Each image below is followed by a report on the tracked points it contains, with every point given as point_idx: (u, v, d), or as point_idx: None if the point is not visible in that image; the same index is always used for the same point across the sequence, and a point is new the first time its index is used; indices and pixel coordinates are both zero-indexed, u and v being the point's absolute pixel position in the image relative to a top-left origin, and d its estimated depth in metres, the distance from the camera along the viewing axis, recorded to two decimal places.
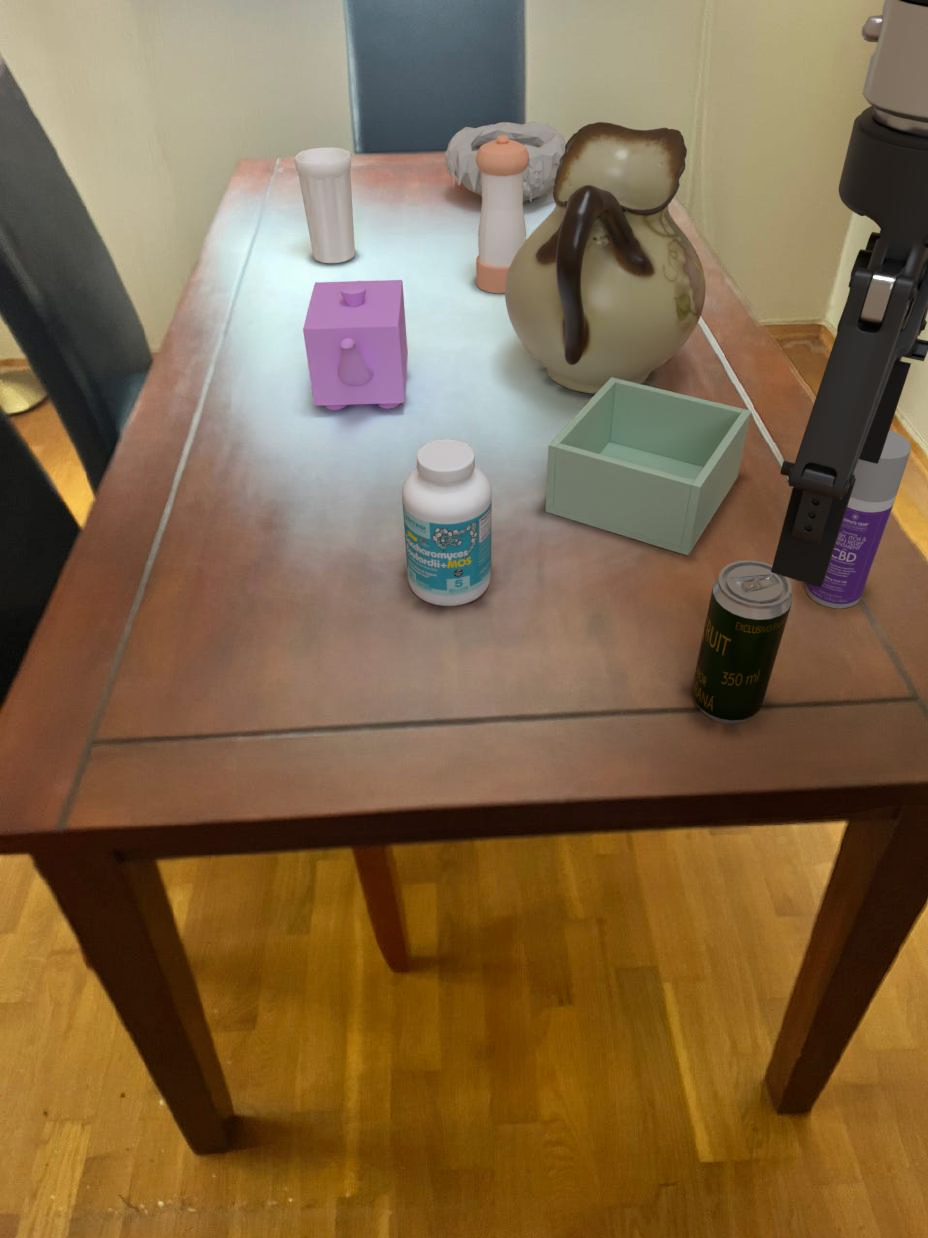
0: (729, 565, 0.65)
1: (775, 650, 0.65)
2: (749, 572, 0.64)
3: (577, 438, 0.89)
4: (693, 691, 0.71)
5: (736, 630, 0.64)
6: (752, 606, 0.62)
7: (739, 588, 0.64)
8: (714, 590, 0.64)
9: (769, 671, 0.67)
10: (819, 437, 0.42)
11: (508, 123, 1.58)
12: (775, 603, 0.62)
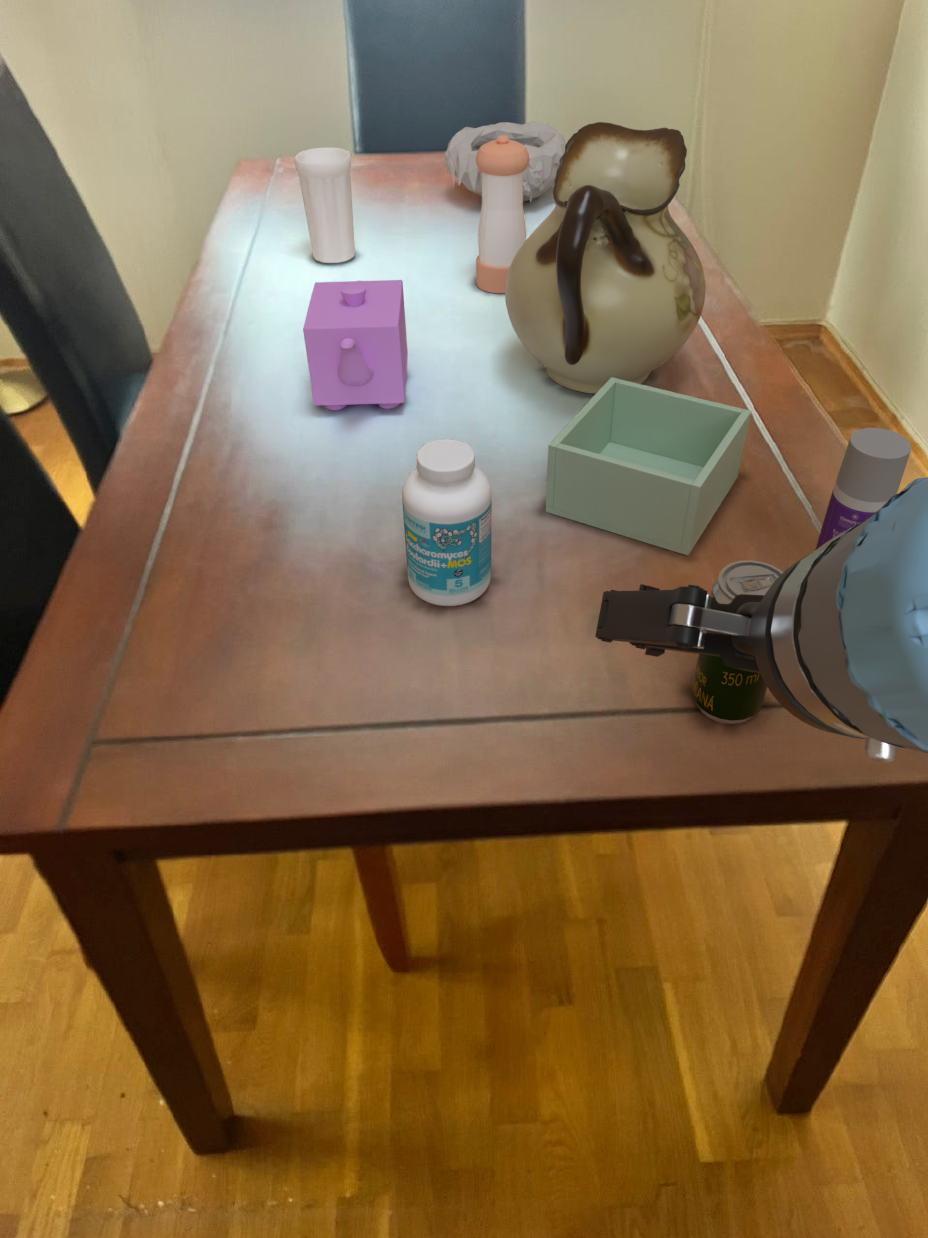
0: (729, 565, 0.65)
1: None
2: (749, 572, 0.64)
3: (577, 438, 0.89)
4: (693, 691, 0.71)
5: None
6: None
7: (739, 588, 0.64)
8: (714, 590, 0.64)
9: None
10: None
11: (508, 123, 1.58)
12: None
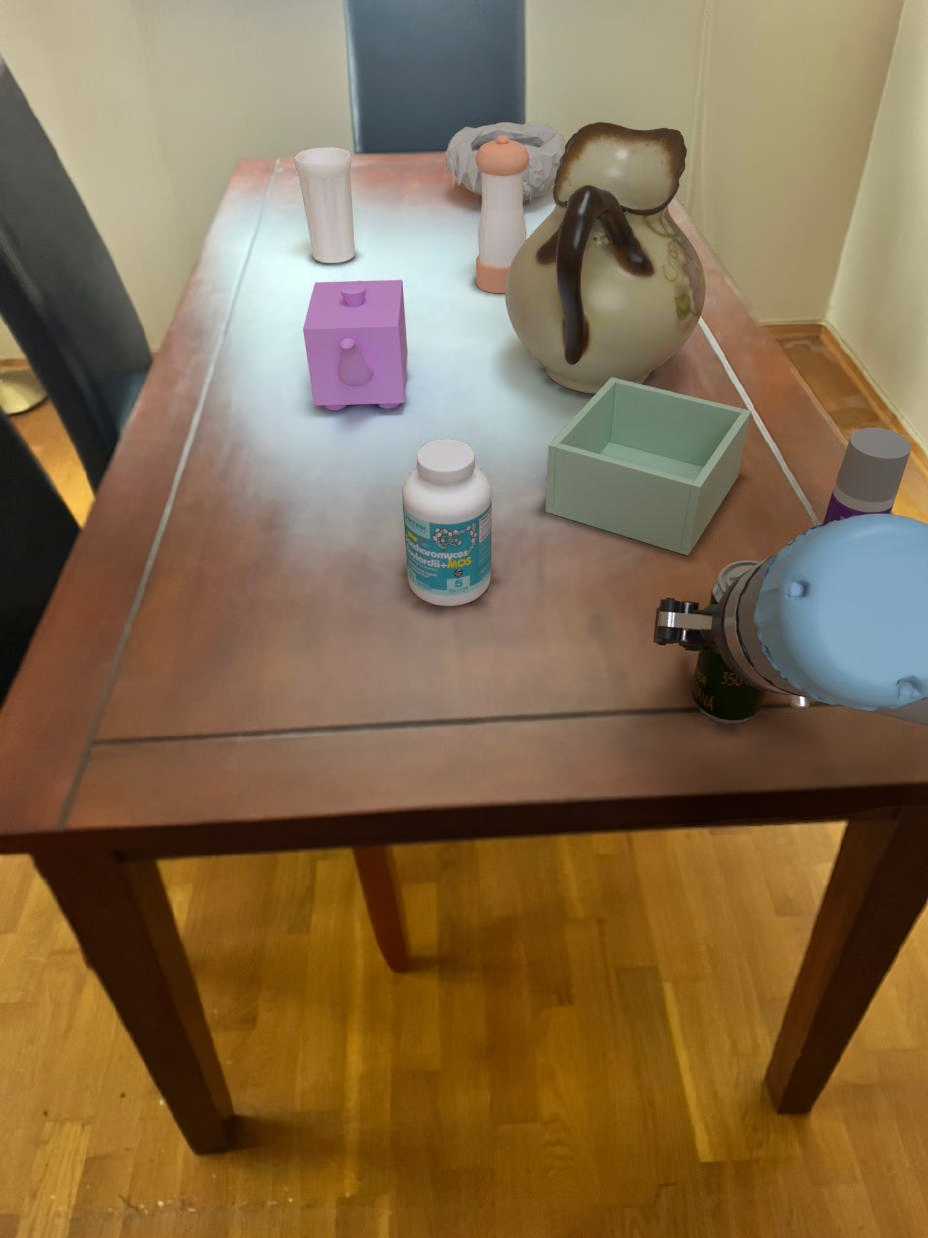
0: (729, 565, 0.65)
1: None
2: None
3: (577, 438, 0.89)
4: (693, 691, 0.71)
5: None
6: None
7: None
8: (714, 590, 0.64)
9: None
10: None
11: (508, 123, 1.58)
12: None
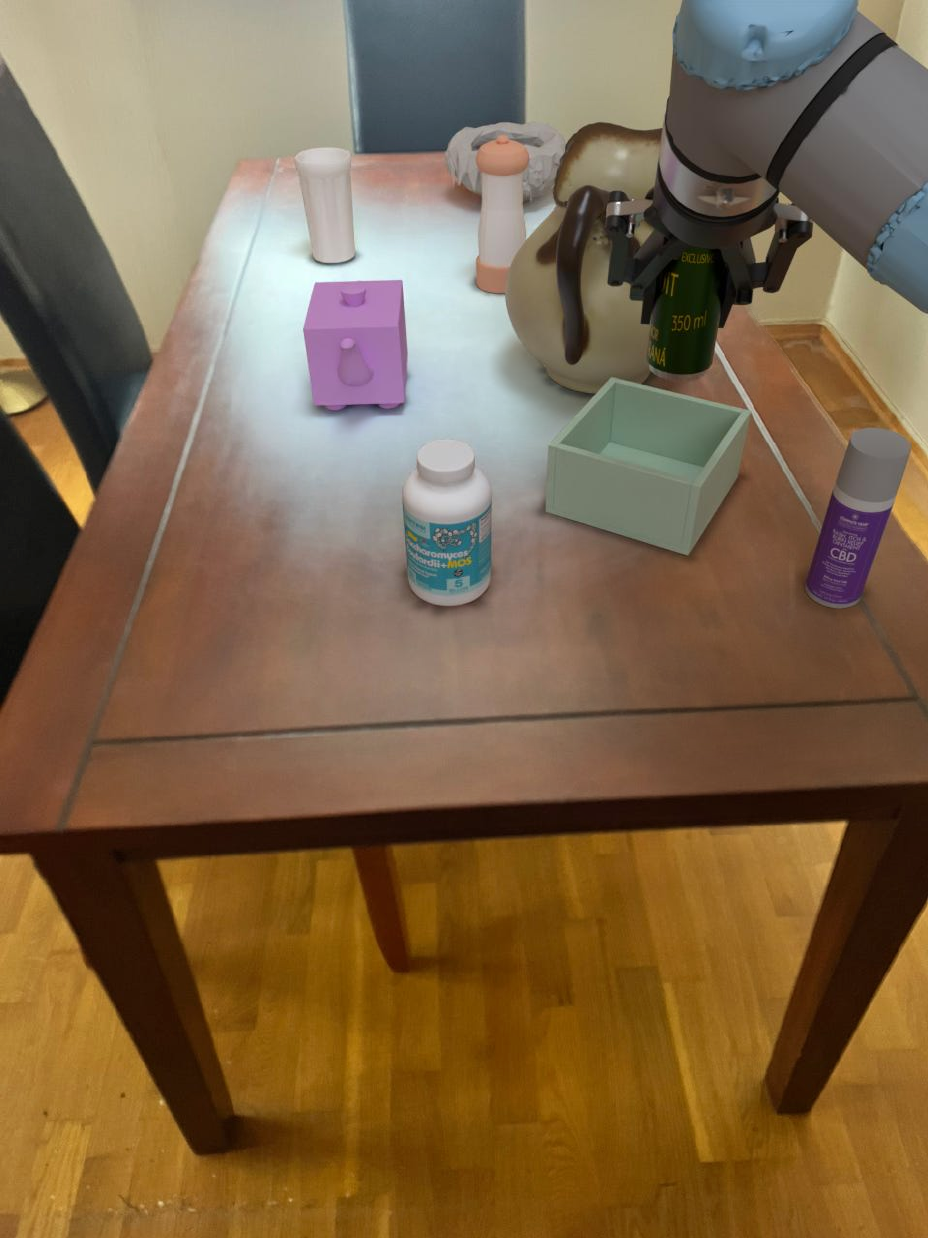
0: None
1: (720, 290, 0.71)
2: None
3: (577, 438, 0.89)
4: (647, 355, 0.76)
5: (682, 261, 0.69)
6: None
7: None
8: None
9: (715, 317, 0.72)
10: None
11: (508, 123, 1.58)
12: None
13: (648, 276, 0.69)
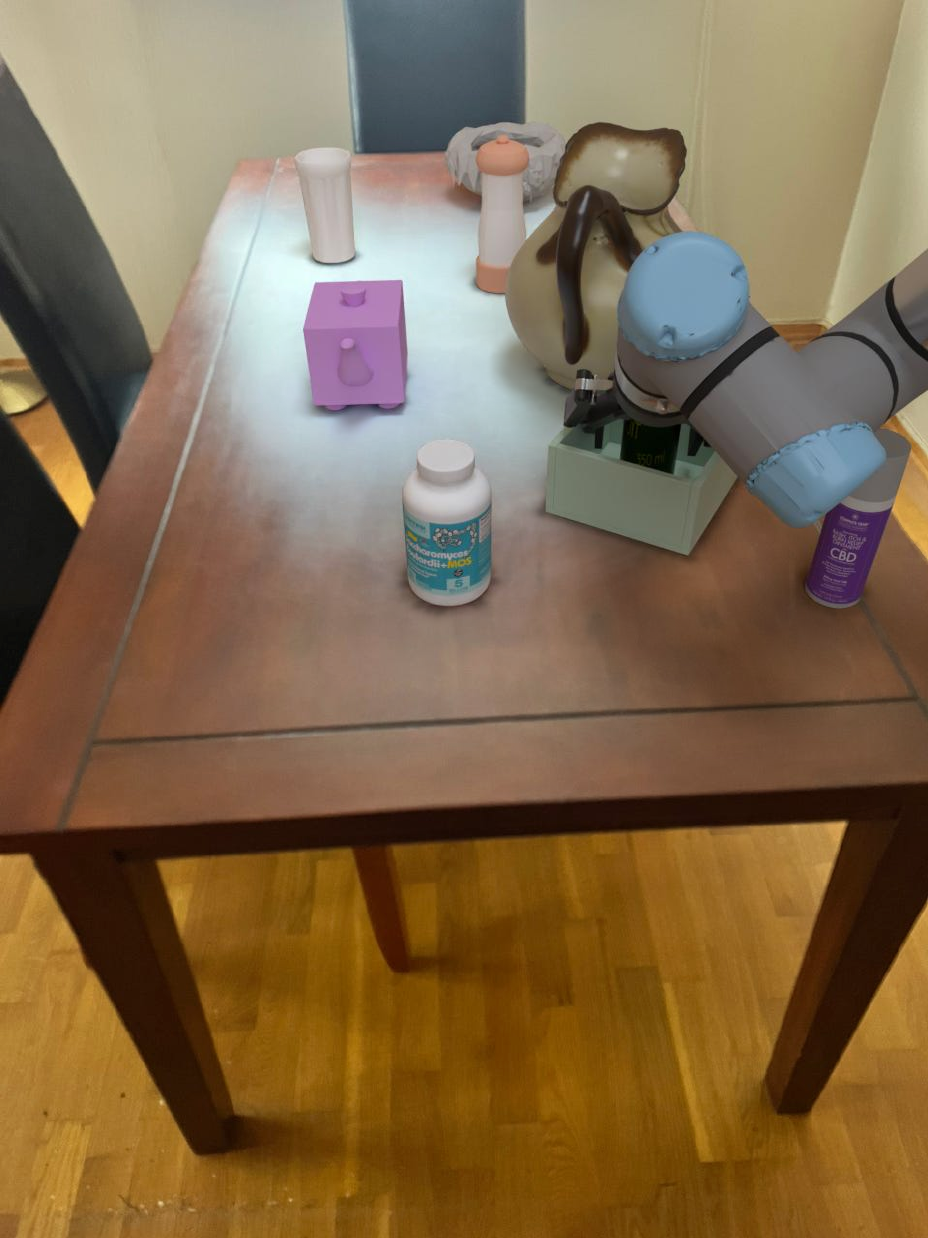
0: None
1: (676, 435, 0.86)
2: None
3: (577, 438, 0.89)
4: None
5: None
6: None
7: None
8: None
9: (673, 454, 0.87)
10: None
11: (508, 123, 1.58)
12: None
13: (599, 424, 0.83)
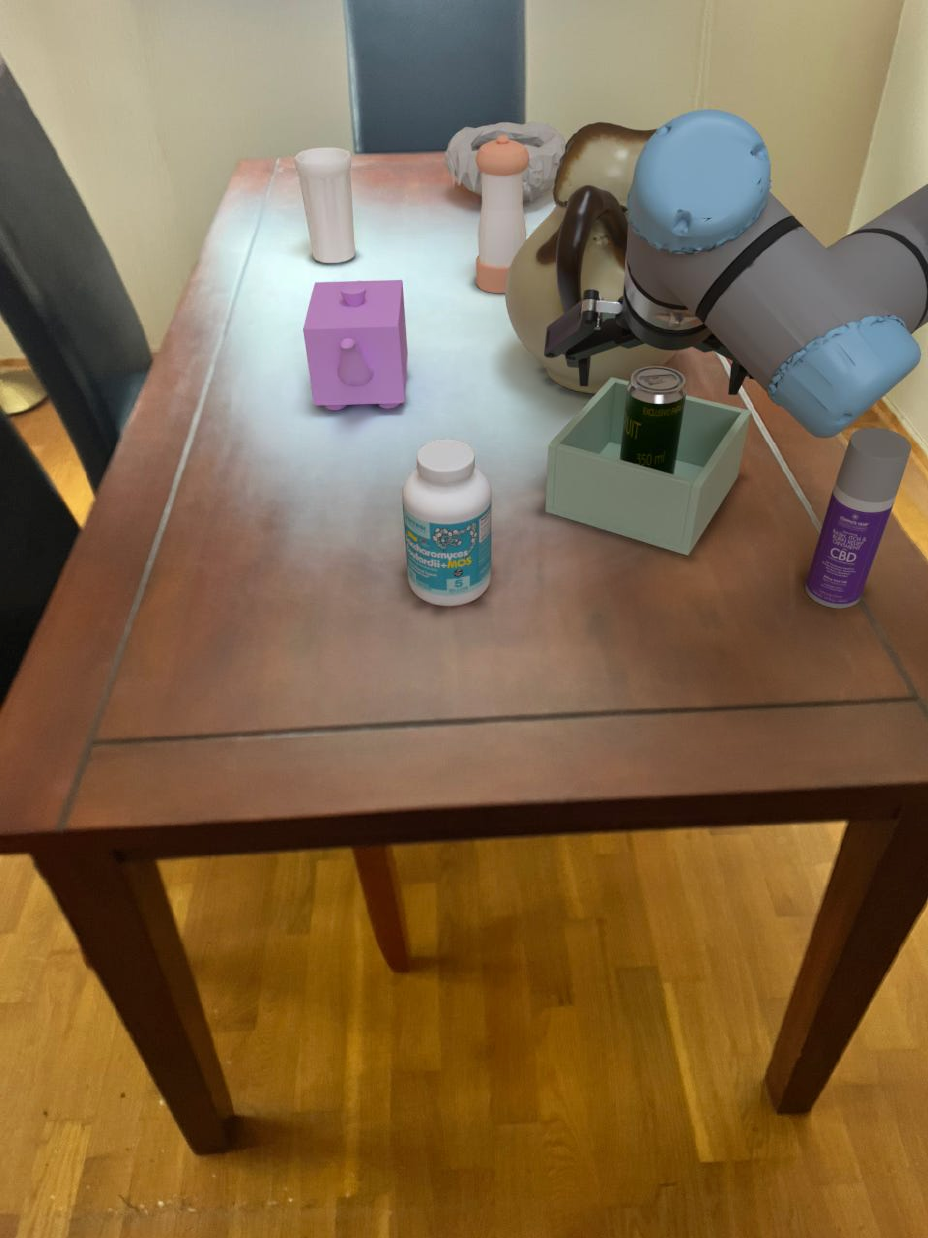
0: (640, 369, 0.85)
1: (676, 435, 0.86)
2: (654, 373, 0.85)
3: (577, 438, 0.89)
4: None
5: (644, 414, 0.84)
6: (654, 392, 0.82)
7: (646, 383, 0.84)
8: (628, 386, 0.85)
9: (673, 454, 0.87)
10: None
11: (508, 123, 1.58)
12: (671, 390, 0.82)
13: (588, 353, 0.78)
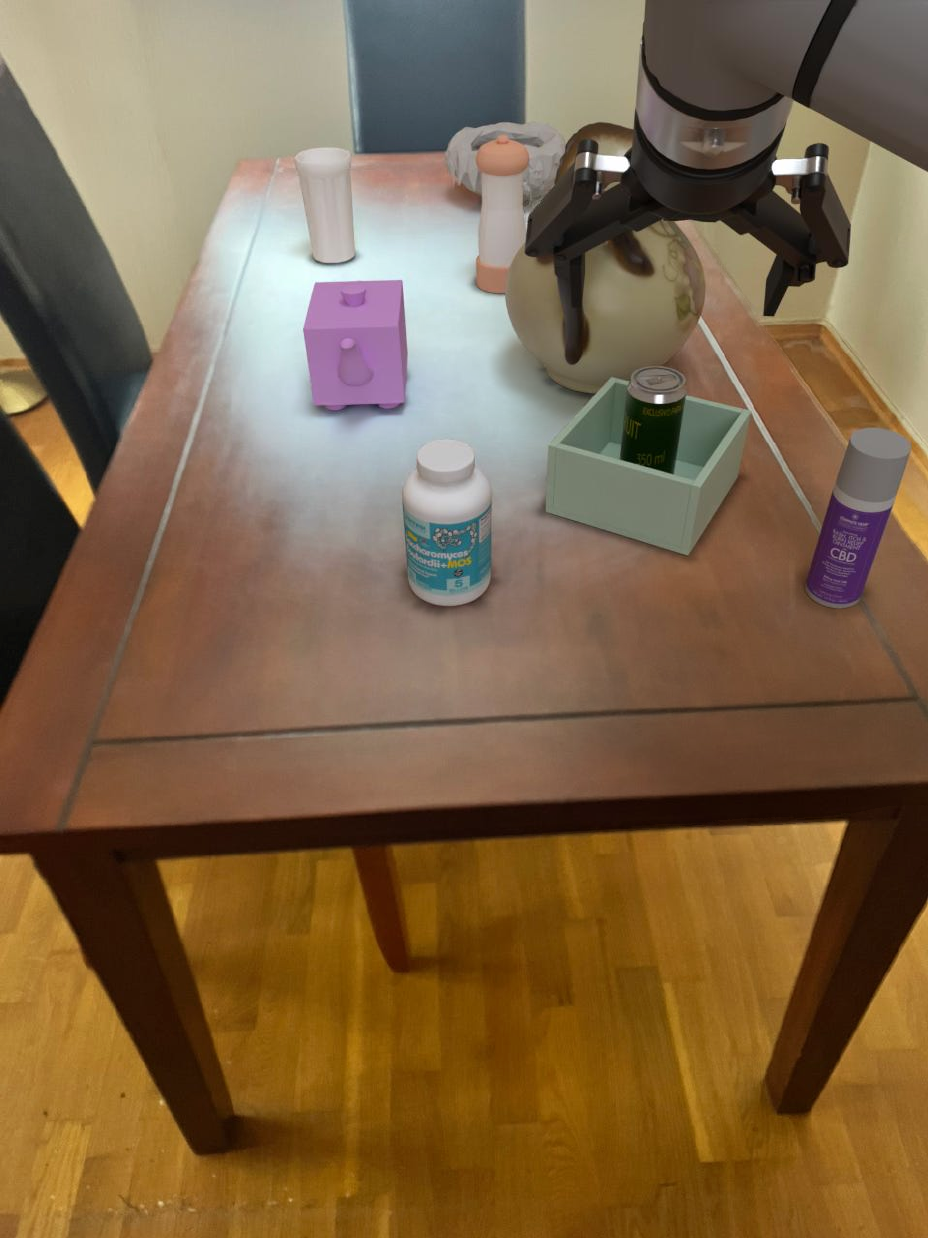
0: (640, 369, 0.85)
1: (676, 435, 0.86)
2: (654, 373, 0.85)
3: (577, 438, 0.89)
4: None
5: (644, 414, 0.84)
6: (654, 392, 0.82)
7: (646, 383, 0.84)
8: (628, 386, 0.85)
9: (673, 454, 0.87)
10: (842, 236, 0.56)
11: (508, 123, 1.58)
12: (671, 390, 0.82)
13: (583, 246, 0.59)
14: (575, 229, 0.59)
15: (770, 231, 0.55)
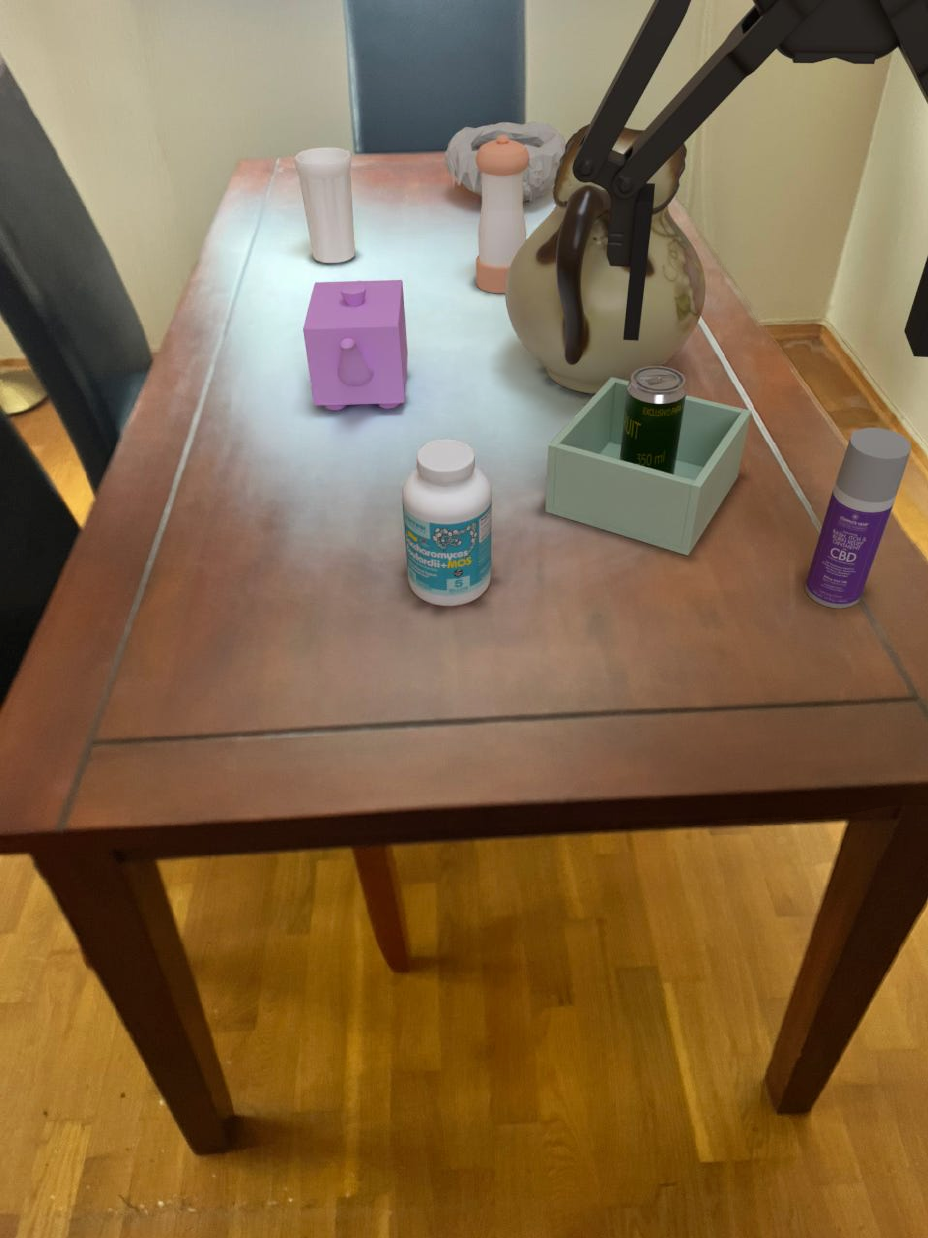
0: (640, 369, 0.85)
1: (676, 435, 0.86)
2: (654, 373, 0.85)
3: (577, 438, 0.89)
4: None
5: (644, 414, 0.84)
6: (654, 392, 0.82)
7: (646, 383, 0.84)
8: (628, 386, 0.85)
9: (673, 454, 0.87)
10: None
11: (508, 123, 1.58)
12: (671, 390, 0.82)
13: (663, 145, 0.40)
14: (650, 131, 0.40)
15: None
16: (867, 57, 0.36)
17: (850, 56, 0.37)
